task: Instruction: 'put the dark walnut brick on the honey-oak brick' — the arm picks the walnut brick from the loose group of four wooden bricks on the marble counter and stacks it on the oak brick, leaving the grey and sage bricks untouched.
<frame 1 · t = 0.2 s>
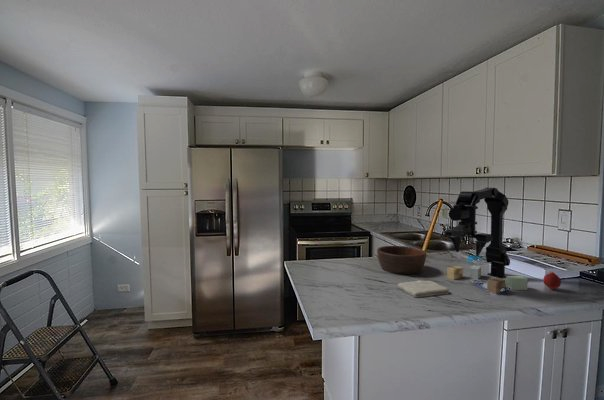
hand: (467, 254, 130), 14 cm above the worktop, fingers open, 9 cm apart
oak brick: (454, 277, 141), on the worktop
wooden bowl: (400, 269, 156), on the worktop
washcloth: (423, 292, 123), on the worktop
sage brick: (516, 288, 127), on the worktop
red rounded lump: (551, 290, 125), on the worktop
walnut brick: (496, 291, 123), on the worktop
grey brick: (475, 277, 142), on the worktop
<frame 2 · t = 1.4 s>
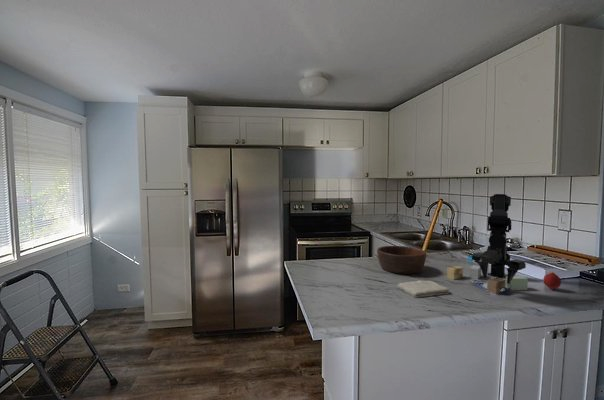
hand: (496, 280, 123), 5 cm above the worktop, fingers open, 9 cm apart
nothing on the worktop moved.
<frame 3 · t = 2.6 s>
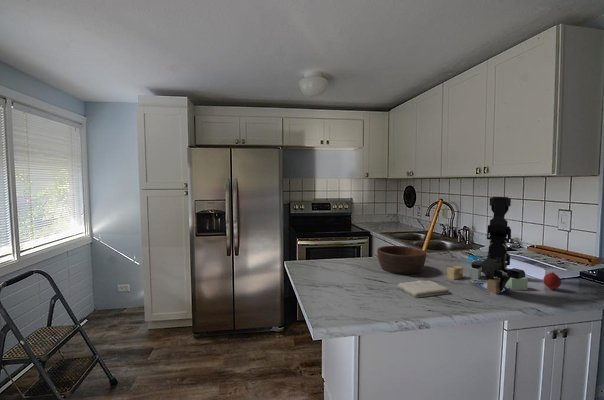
hand: (496, 289, 123), 1 cm above the worktop, fingers closed on walnut brick, 3 cm apart
walnut brick: (496, 291, 123), on the worktop, touching gripper
everything else where it was.
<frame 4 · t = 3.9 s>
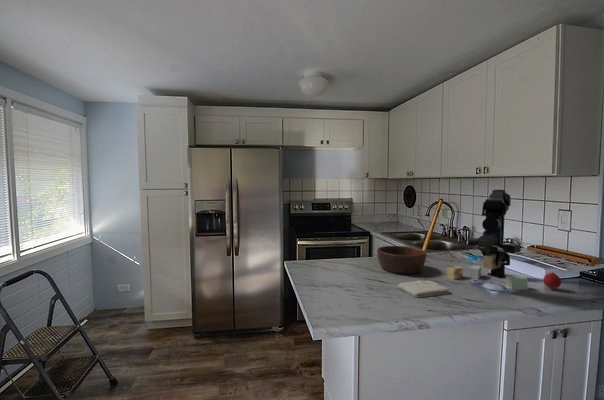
hand: (492, 264, 124), 11 cm above the worktop, fingers closed on walnut brick, 3 cm apart
walnut brick: (491, 267, 124), point 10 cm above the worktop, touching gripper
everything else where it was.
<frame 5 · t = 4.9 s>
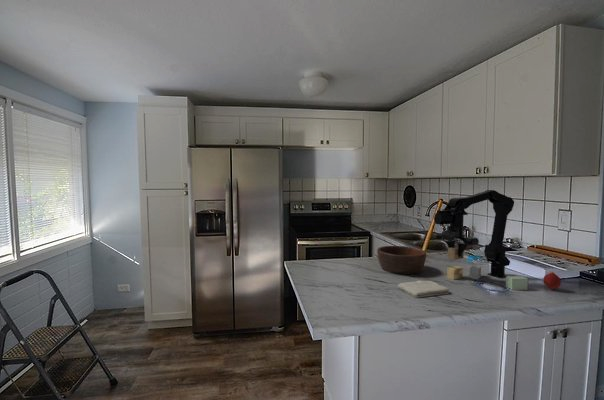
hand: (455, 256, 141), 11 cm above the worktop, fingers closed on walnut brick, 3 cm apart
walnut brick: (455, 258, 141), point 10 cm above the worktop, touching gripper
everything else where it was.
when the fingers open (7 cm above the worktop, at t = 5.7 s): walnut brick drops 1 cm, resting on oak brick.
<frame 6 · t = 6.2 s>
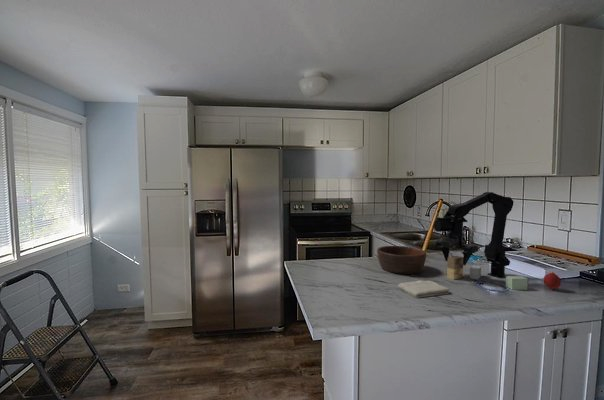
hand: (455, 263, 141), 7 cm above the worktop, fingers open, 9 cm apart
oak brick: (454, 277, 141), on the worktop, touching walnut brick
walnut brick: (455, 267, 141), point 5 cm above the worktop, touching oak brick
everything else where it was.
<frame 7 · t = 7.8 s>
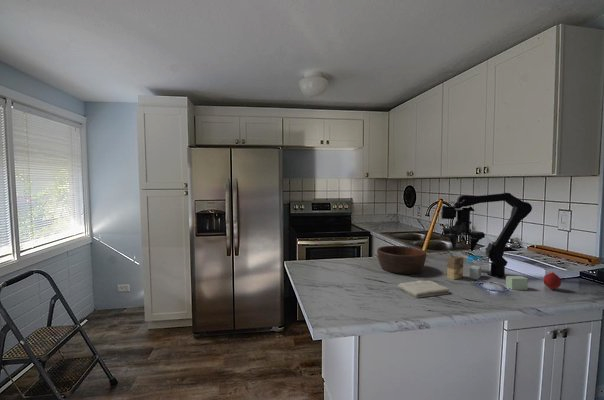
hand: (462, 249, 149), 12 cm above the worktop, fingers open, 9 cm apart
nothing on the worktop moved.
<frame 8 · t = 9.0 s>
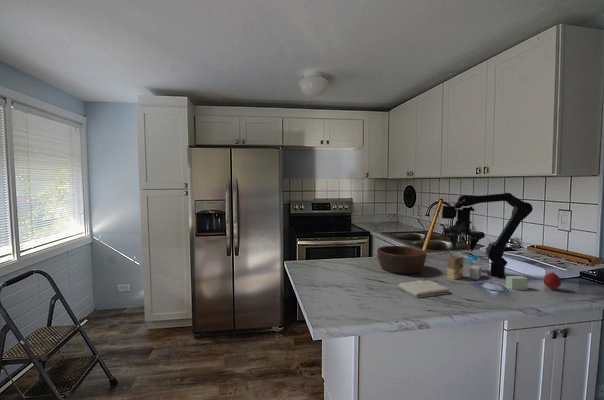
hand: (462, 249, 150), 12 cm above the worktop, fingers open, 9 cm apart
nothing on the worktop moved.
at the end: walnut brick 0.1 cm off-centre on the oak brick, point 5.0 cm above the oak brick's base; grey brick moved 0.1 cm from its start; sage brick moved 0.1 cm from its start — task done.
